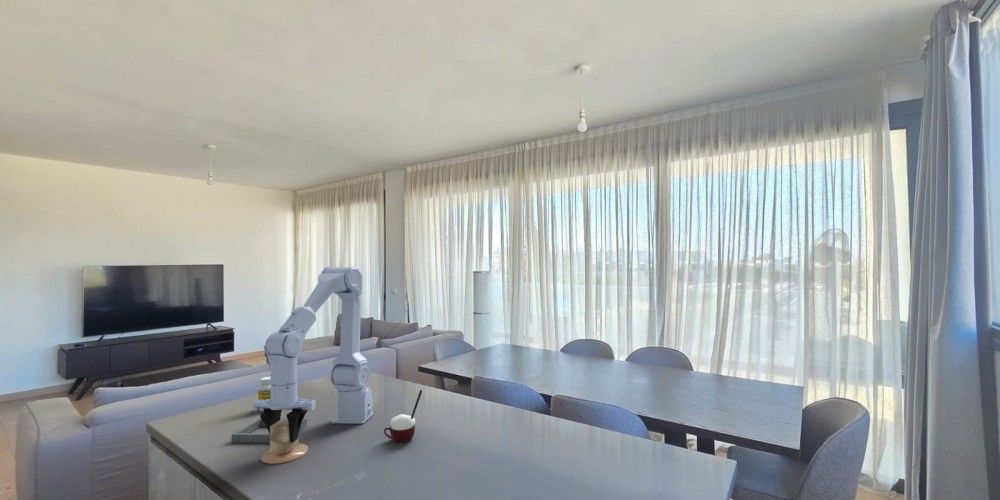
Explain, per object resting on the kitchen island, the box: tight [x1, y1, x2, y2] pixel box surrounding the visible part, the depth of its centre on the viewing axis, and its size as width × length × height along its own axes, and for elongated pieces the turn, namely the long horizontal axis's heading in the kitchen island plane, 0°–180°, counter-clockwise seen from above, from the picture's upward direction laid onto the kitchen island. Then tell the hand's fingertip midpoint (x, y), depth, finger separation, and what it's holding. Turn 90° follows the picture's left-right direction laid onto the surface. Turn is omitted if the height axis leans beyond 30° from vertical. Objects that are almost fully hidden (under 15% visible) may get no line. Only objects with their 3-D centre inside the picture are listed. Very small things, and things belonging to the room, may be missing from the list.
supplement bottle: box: [257, 376, 271, 413], centre depth 135 cm, size 5×5×10 cm
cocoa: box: [383, 389, 423, 444], centre depth 109 cm, size 10×6×12 cm, turn 79°
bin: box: [231, 417, 308, 444], centre depth 115 cm, size 14×12×2 cm
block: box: [269, 419, 299, 453], centre depth 102 cm, size 4×5×6 cm
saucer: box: [260, 442, 309, 465], centre depth 102 cm, size 10×10×1 cm
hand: (284, 440), depth 102 cm, fingers closed on block, 4 cm apart
